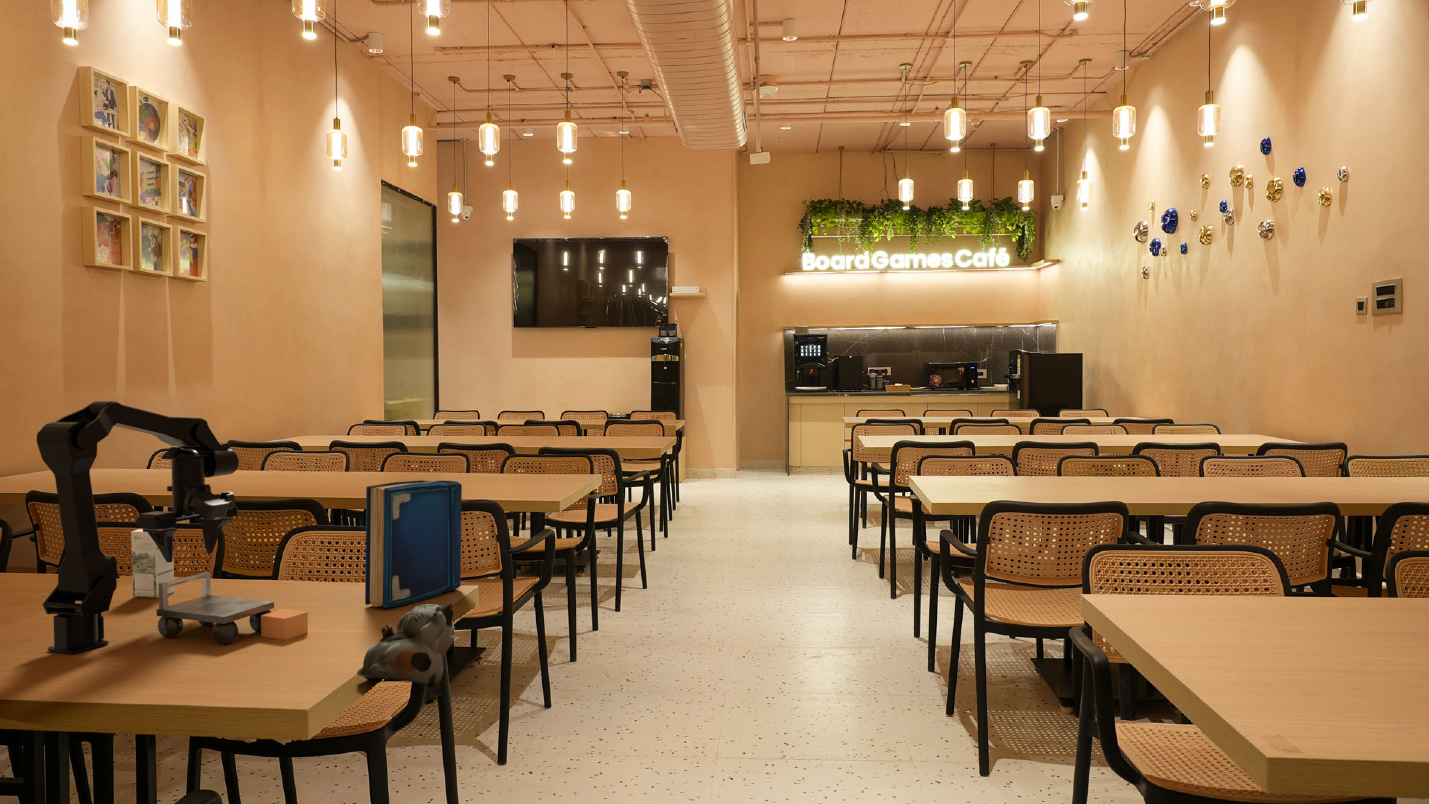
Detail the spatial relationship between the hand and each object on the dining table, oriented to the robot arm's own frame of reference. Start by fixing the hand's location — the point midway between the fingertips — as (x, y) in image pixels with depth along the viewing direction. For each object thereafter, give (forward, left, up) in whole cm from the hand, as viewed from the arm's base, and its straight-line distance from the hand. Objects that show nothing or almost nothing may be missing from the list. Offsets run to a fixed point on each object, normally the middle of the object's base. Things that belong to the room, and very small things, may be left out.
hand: (190, 557), depth 178 cm
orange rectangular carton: (-6, -30, -11) cm, 33 cm away
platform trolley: (-10, -18, -11) cm, 23 cm away
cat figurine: (-19, -67, -11) cm, 71 cm away
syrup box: (+8, +20, -11) cm, 24 cm away
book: (+24, -36, -11) cm, 45 cm away
